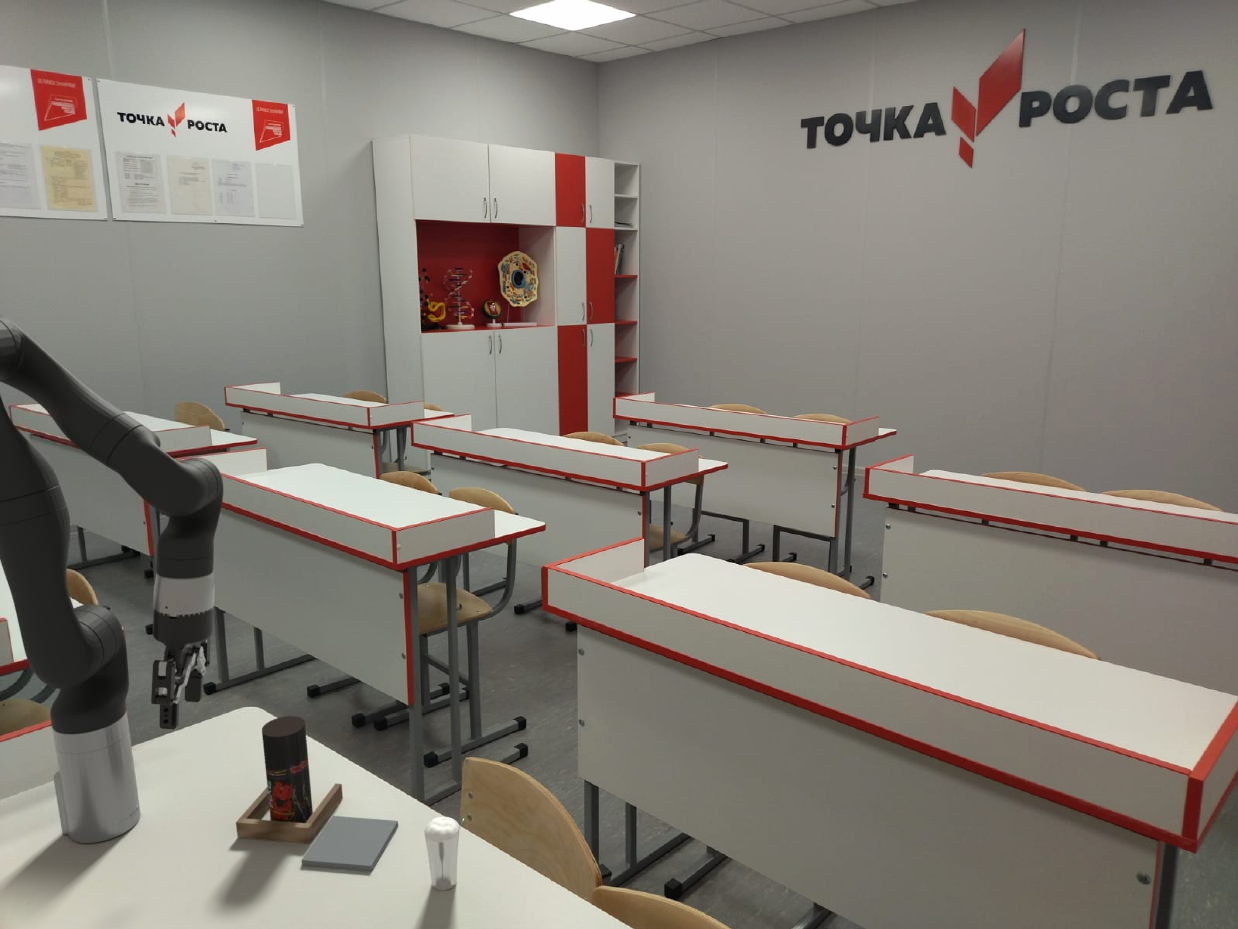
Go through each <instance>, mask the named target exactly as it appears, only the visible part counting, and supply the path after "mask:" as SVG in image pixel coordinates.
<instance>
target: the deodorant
mask: <svg viewBox="0 0 1238 929" xmlns="http://www.w3.org/2000/svg"><path fill="white" fill-rule="evenodd" d="M306 732H307V731H306V721H305V719H304V718H302V717H299V716H293V715H290V716H289V715H288V716H280V717H276V718H274V719H272V720H269V721H268V722H266V723H265V724H264V725H263V726H262V728H261V735H262V744H263V745H262V747H263V754H264V764H265V765H264V766H265V775H266V776H265V777H266V788H268V798H269V816H270V817H269V818H270V821H283V822H295V823H306V822H307V820H308V819H309V818H310V816H311V815H312V814H313V812H314V810H313V800H312V799H313V798H312V788H311V776H310V766H309V756H308V755H309V754H308V741H307V733H306Z"/></svg>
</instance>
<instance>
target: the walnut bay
mask: <svg viewBox="0 0 1238 929" xmlns="http://www.w3.org/2000/svg"><path fill="white" fill-rule="evenodd" d="M343 799H344V798H343V784H342V783H334V784H333V786H332V788H331V789H330V790H329V791H328V793H326V795H325V797H324V798H323V799H322V800H321V802H320V803H319V805H318V806H317V807H316V808H315V810H313V814H312V815H311V816H310V818H309V819H308V820H307V822H306V823H295V822H283V821H271V819H270V820H269V819H268V820H267V819H262V817H263V816H264V815H265V814H266V813H267V812H268V810H270V808H269V798H268V788H267V787H266V788H265V789H264V790H263V791H262V792H261V793H260V795H259V796H258V797H257V798H256V799H255V800H254V801H253V802H252V803H251V805H250V806H248V808H247V809H245V811H244V812H243V813H242V815H241V816H239V818H238V820H236V821H235V827H236V834H237V838H238V839H250V840H251V839H252V840H262V841H276V842H284V843H285V842H287V843H295V844H296V843H298V844H299V843H300V844H309V845H310V844H311V843H312V841H314V839H315V838H316V836H318V833H319V832H321V829H322V828H323V827H324V825H325V824H326V822H327V821H328V820H329V818H330V816H332V814H333V813H334V811H335V810H336V809H337V807H338V806H339V804H340V803H341V801H342V800H343Z"/></svg>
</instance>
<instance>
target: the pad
mask: <svg viewBox="0 0 1238 929" xmlns="http://www.w3.org/2000/svg"><path fill="white" fill-rule="evenodd" d="M398 821H399V820H392V819H388V820H387V819H381V818H380V819H379V818H378V819H377V818H376V819H375V818H366V817H355V816H354V817H353V816H352V817H351V816H342V815H341V816H339V815H332V816H331V818H330V819H329V821H328V822H327V823H326V825H325V826H324V828H323V830H321V831H320V833H319V835H317V838H316V839H315V840H314V842H313V843H312V844H311V846H310V848H309V849H308V850H307V852H306V853H305V854H304V856H303V857H302V859H301V866H307V867H308V866H309V867H310V866H311V867H318V868H319V867H322V868H331V869H332V868H333V869H345V870H357V871H367V872H369V871H370V872H372V871H373V870H374V868H375V866H376V864H377V863H378V861H379V860H380V857H381V856H382V854H383V852H384V851H385V850H386V849H385V848H386V847H388V846H387V845H388V844H389V842H390V841H391V839H392V837H393V835H394V833H395V832H396V831H397V829H398V827H399V822H398Z"/></svg>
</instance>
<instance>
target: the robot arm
mask: <svg viewBox="0 0 1238 929" xmlns="http://www.w3.org/2000/svg"><path fill="white" fill-rule="evenodd" d="M0 383H3V384H5V385H7V386H9V387H12V388H13V389H15V390H17V391H19V392H22V394H24V395H26V396H28V397H30V398H31V399H33V401H35V402H36V403H37V404H39V405H40V406H41V407H42V408H43V409H44V410H45V411H46V412H47V414H48V415H49V416H50V417H51V418H52V420H53V421H54V423H55V424H56V426H57V427H58V428H59V430H60V431H61V432H62V433H63V435H64V436H65V437H66V438H67V440H69V441H70V442H71V443H72V444H73V445H74V446H76V447H77V448H78V449H79V450H81V451H82V452H84V453H86V454H87V455H88V456H90V457H91V458H93V459H94V460H96V461H98V462H99V463H101V464H102V465H104V467H105V466H106V467H107V468H109V469H110V470H111V471H113V472H115V473H117V474H118V475H119V476H120V477H121V479H123V481H124V482H125V483H126V484H127V485H128V486H130V488H131V489H132V490H133V491H134V492H135V493H136V494H138V496H140V497H141V499H143V500H144V501H145V502H146V503H147V504H149V506H151V507H152V508H153V509H156V510H157V511H159V512H161V513H164V514H165V515H169V516H168V521H167V522H168V523H167V525H166V526H165V528H164V529H163V530H162V532H161V533H160V534H159V536H158V538H157V542H156V544H157V545H156V562H155V563H156V565H155V566H156V567H155V568H156V569H155V571H156V573H155V580H154V586H153V610H152V611H153V613H152V616H153V617H152V637H153V638H154V640H156V641H157V642H160V643H162V644H163V646H165V647H164V652H163V654H162V658H161V660H160V659H155V660H154V661H153V663H152V672H151V673H152V674H151V675H152V676H151V677H152V679H151V698H150V703H151V705H159V728H160V729H162V730H163V729H164V730H175V729H176V728H177V727H178V726H179V721H180V720H179V718H180V714H179V713H180V697H181V694H182V690H183V689H184V701H186V702H187V703H199V702H200V701H201V700H202V699H203V686H204V685H203V683H204V676H205V674H206V670H207V669H206V667H210V665H211V637H212V636H213V633H214V628H215V626H214V621H215V591H216V589H215V580H214V579H215V578H214V561H215V560H214V556H215V555H214V554H215V551H214V549H215V546H214V545H215V544H214V543H215V542H214V540H215V536H216V535H215V534H216V532H217V529H218V525H219V520H220V515H221V510H222V505H223V497H224V483H223V482H224V480H223V477H222V475H221V471H220V470H219V468H218V466H216V465H215V463H213V462H212V461H211V460H209V459H206V458H204V457H195V456H194V457H189V458H186V459H185V458H184V459H182V460H176V459H175V458H173V457H172V456H171V455H169V453H167V452H166V451H164V450H163V449H162V448H161V446H162V445H161V444H162V443H161V440H160V437H159V436H158V435H157V434H156V433H155V432H153V431H152V430H151V429H150V428H148V427H147V426H145V425H144V424H142V423H140V422H139V421H138V420H136V419H135V418H133V417H132V416H130V414H129V415H128V414H127V413H126V412H124V411H123V410H121V409H119V408H118V407H117V406H115V405H113V404H112V403H111V402H109V401H107V399H105V398H103V397H102V396H101V395H99V394H98V393H96V392H95V391H94V390H92V389H91V388H89V386H88V385H86V384H84V383H83V382H82V381H81V380H80V379H78V377H76V376H75V375H74V374H72V373H71V372H70V370H68V369H67V368H66V367H65V366H63V365H62V364H61V363H60V362H59V361H58V360H56V359H55V358H54V357H53V356H52V355H51V354H49V353H48V352H47V351H46V350H45V349H44V348H43V347H42V346H41V345H40V344H39V343H38V342H37V341H36V340H34V338H32V337H31V335H29V334H28V332H26V331H24V330H23V329H22V328H21V327H20V326H18V325H17V324H16V323H14V322H13V321H12V320H10V319H9V318H8V317H6V316H4V315H1V314H0ZM70 539H71V517H70V513H69V509H68V506H67V502H66V499H65V495H64V494H63V490H62V487H61V485H60V482H59V479H58V477H57V474H56V472H55V470H54V469H53V467H52V466H51V464H50V463H49V461H48V460H47V459H46V458H45V456H43V454H42V453H40V451H39V450H38V449H37V448H36V447H35V446H34V445H33V444H32V443H31V442H30V441H29V440H28V439H27V438H26V436H24V434H23V433H22V432H20V430H19V429H18V428H17V427H16V425H15V424H14V423H13V421H12V419H11V417H10V415H9V413H8V412H7V409H6V407H5V405H4V402H3V399H2V395H1V394H0V564H1V567H2V569H3V573H4V576H5V579H6V581H7V585H8V588H9V590H10V593H11V597H12V601H13V606H14V610H15V613H16V617H17V623H18V628H19V633H20V636H21V640H22V646H23V649H24V654H25V656H26V660H27V662H28V664H29V667H30V668H31V670H32V672H33V673H34V674H35V676H36V677H37V678H38V679H39V680H40V681H41V682H42V683H44V684H45V685H47V686H48V687H51V688H53V689H58V690H59V692H58V694H57V696H56V698H55V699H54V701H53V703H52V704H51V707H50V714H49V715H50V716H49V717H50V723H51V729H52V735H53V742H54V746H55V754H56V760H57V767H58V771H57V772H56V773H55V774H54V775H53V784H54V791H55V797H56V803H57V807H58V808H57V810H58V815H59V820H60V822H59V823H60V827H61V834H62V835H66V836H67V835H68V836H69V837H70V839H71V840H72V841H74V842H76V843H80V844H95V843H100V842H101V843H102V842H105V841H108V840H111V839H114V838H116V837H118V836H120V835H124V833H126V832H128V831H129V830H130V829H132V828H133V827H135V825H136V824H137V823H138V822H139V820H140V818H141V814H142V813H141V808H140V807H141V806H140V800H139V793H138V790H139V789H138V786H137V777H136V770H135V761H134V756H133V747H132V741H131V735H130V734H131V733H130V726H129V720H128V713H127V705H126V704H127V703H126V702H127V701H126V700H127V696H128V692H129V688H130V675H129V673H130V672H129V664H128V663H129V661H128V649H127V639H126V635H125V632H124V628H123V626H122V624H121V622H120V620H119V619H118V617H117V616H116V615H115V613H113V612H112V611H111V610H110V609H108V608H106V607H104V606H101V605H98V604H93V603H91V604H82V605H79V606H76V607H74V605H73V601H72V598H71V595H70V592H69V591H70V590H69V586H68V579H67V578H68V577H67V574H68V573H67V571H68V570H67V569H68V559H69V550H70V549H69V548H70V541H71V540H70Z"/></svg>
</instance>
